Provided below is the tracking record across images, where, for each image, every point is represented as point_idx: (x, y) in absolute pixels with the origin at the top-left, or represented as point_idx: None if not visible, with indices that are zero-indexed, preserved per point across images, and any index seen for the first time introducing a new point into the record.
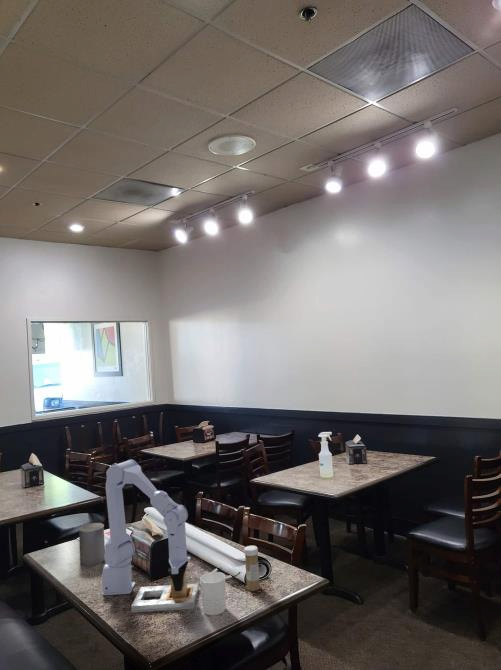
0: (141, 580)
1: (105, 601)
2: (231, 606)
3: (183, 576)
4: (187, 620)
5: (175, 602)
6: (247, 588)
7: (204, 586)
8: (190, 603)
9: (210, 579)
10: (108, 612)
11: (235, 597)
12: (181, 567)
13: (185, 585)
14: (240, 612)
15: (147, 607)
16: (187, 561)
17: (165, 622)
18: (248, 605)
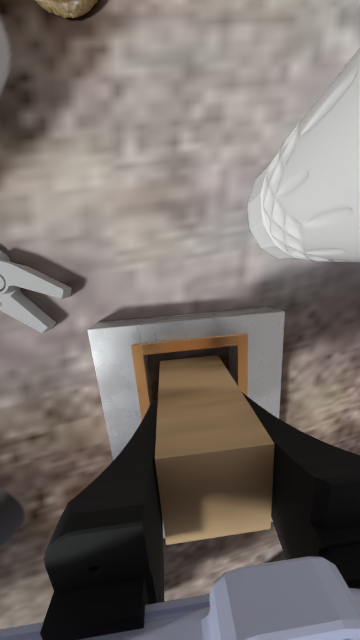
0: (34, 546)
1: (186, 580)
2: (272, 120)
3: (280, 437)
4: (349, 311)
5: (272, 387)
6: (88, 2)
7: None
8: (281, 323)
9: (344, 180)
10: (251, 549)
11: (180, 103)
12: (155, 507)
13: (204, 385)
14: (339, 58)
15: None
16: (137, 529)
17: (343, 383)
18: (276, 4)
